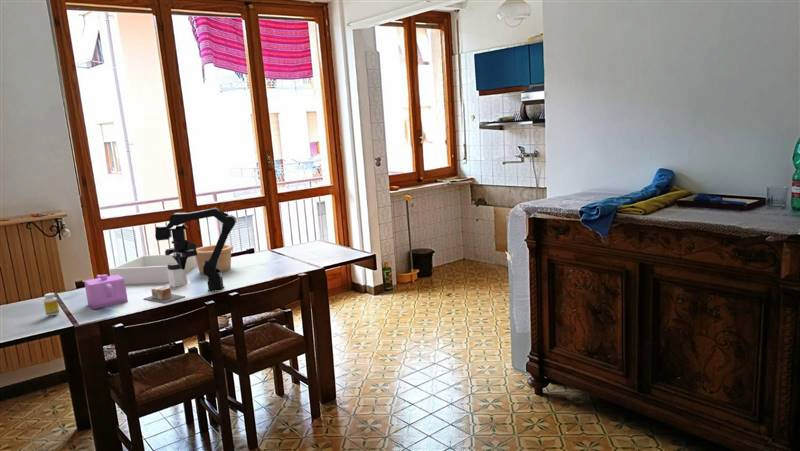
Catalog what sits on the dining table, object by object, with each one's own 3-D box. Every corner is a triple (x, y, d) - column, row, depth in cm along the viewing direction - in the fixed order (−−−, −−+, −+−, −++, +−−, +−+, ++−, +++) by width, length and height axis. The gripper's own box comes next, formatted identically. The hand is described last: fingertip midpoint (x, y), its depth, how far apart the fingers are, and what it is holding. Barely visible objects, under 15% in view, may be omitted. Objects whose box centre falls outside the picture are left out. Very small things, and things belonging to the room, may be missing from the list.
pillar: (170, 287, 281) (159, 286, 286) (161, 290, 277) (151, 288, 282) (171, 296, 282) (160, 294, 287) (163, 299, 278) (152, 297, 283)
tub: (198, 267, 346) (196, 252, 344) (171, 282, 312) (169, 266, 311) (144, 270, 349) (142, 255, 348) (112, 285, 316) (109, 269, 314)
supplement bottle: (44, 314, 268) (41, 294, 266) (57, 311, 272) (53, 291, 270) (48, 316, 264) (44, 296, 262) (61, 313, 268) (57, 293, 266)
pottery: (210, 279, 314) (207, 253, 312) (187, 275, 328) (184, 250, 325) (243, 270, 331) (240, 245, 329) (220, 266, 345) (217, 243, 342)
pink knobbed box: (118, 294, 296) (114, 267, 294) (130, 303, 276) (126, 275, 274) (85, 301, 287) (80, 274, 284) (95, 311, 267) (90, 282, 265)
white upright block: (166, 286, 305) (163, 264, 303) (179, 282, 312) (176, 261, 310) (177, 287, 300) (174, 265, 298) (190, 283, 307) (187, 262, 305)
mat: (185, 297, 281) (185, 296, 280) (164, 303, 272) (164, 302, 272) (163, 293, 291) (163, 292, 291) (143, 299, 282) (143, 298, 282)
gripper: (204, 236, 286) (208, 267, 288) (182, 234, 296) (186, 264, 299) (184, 240, 277) (189, 272, 279) (162, 238, 287) (166, 269, 290)
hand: (183, 269), depth 287 cm, fingers closed
